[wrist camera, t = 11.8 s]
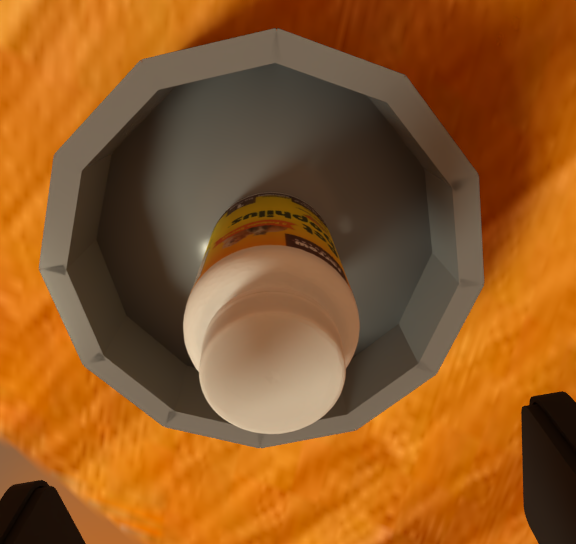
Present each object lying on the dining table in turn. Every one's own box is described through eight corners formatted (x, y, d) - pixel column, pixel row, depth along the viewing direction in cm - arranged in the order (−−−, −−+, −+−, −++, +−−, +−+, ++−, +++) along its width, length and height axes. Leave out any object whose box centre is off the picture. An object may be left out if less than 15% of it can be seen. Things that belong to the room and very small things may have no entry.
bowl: (426, 0, 19) (469, -18, 15) (455, 350, 26) (490, 405, 22) (25, 94, 20) (-39, 101, 16) (153, 409, 27) (132, 472, 23)
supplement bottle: (346, 204, 21) (408, 310, 12) (311, 311, 24) (341, 473, 14) (224, 173, 21) (188, 260, 11) (199, 286, 23) (151, 440, 13)
